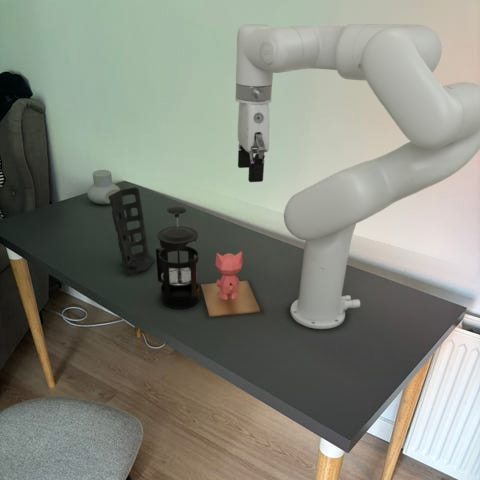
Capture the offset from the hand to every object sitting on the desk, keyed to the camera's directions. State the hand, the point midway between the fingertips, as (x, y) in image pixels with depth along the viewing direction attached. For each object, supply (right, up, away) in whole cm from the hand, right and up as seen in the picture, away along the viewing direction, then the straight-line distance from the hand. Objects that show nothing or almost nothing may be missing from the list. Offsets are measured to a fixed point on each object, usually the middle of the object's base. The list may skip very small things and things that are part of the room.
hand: (250, 174), depth 116 cm
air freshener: (-48, +7, +56) cm, 74 cm away
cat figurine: (-5, -28, +8) cm, 29 cm away
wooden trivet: (-5, -28, +8) cm, 29 cm away
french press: (-17, -28, +7) cm, 34 cm away
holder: (-30, -19, +20) cm, 41 cm away
